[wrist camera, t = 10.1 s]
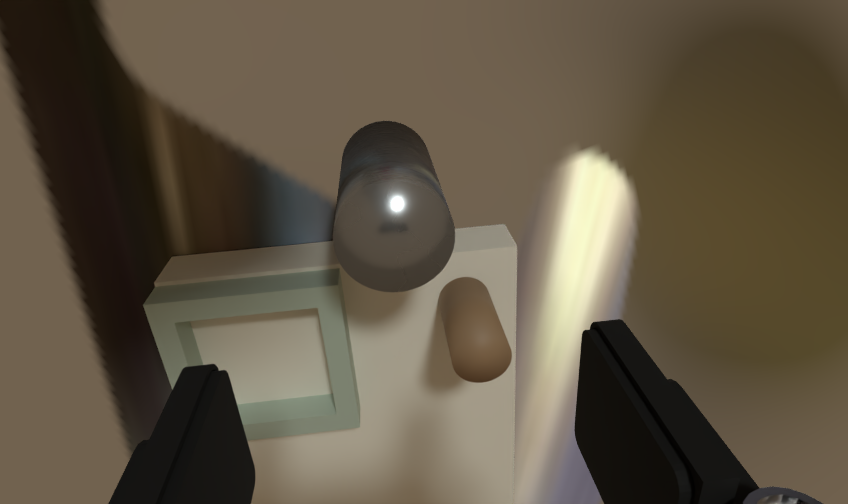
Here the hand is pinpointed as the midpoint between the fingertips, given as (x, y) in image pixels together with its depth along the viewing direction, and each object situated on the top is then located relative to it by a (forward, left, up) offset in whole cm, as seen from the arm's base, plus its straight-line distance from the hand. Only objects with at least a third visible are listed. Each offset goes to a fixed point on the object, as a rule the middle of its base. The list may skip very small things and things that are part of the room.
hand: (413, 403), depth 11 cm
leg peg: (0, 0, -16) cm, 16 cm away
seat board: (+10, -15, -16) cm, 24 cm away
